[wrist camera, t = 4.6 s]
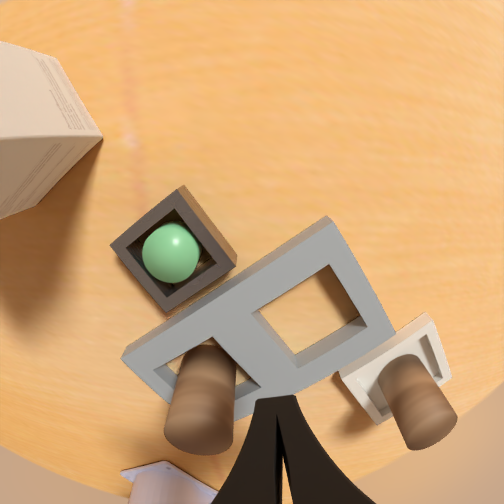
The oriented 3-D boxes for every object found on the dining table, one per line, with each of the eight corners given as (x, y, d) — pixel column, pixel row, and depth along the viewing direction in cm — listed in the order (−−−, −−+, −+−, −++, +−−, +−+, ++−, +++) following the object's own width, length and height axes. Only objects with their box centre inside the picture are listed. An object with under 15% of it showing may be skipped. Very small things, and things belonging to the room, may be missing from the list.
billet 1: (247, 371, 21) (246, 443, 15) (205, 392, 22) (195, 460, 15) (213, 335, 20) (201, 407, 14) (171, 359, 21) (149, 428, 14)
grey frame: (388, 322, 20) (396, 334, 18) (206, 419, 23) (205, 433, 21) (326, 215, 17) (333, 221, 16) (126, 346, 20) (120, 358, 19)
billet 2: (425, 372, 21) (460, 427, 15) (386, 397, 22) (413, 456, 16) (413, 345, 20) (453, 403, 14) (371, 373, 21) (400, 437, 15)
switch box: (237, 254, 18) (235, 266, 16) (172, 298, 19) (165, 313, 17) (184, 184, 17) (176, 189, 15) (121, 236, 18) (109, 245, 16)
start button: (212, 252, 18) (208, 263, 16) (173, 279, 18) (166, 292, 17) (180, 210, 17) (172, 217, 15) (142, 240, 18) (131, 250, 16)
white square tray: (446, 369, 22) (452, 377, 20) (373, 415, 23) (376, 425, 22) (425, 311, 20) (432, 319, 18) (337, 368, 21) (341, 379, 20)
